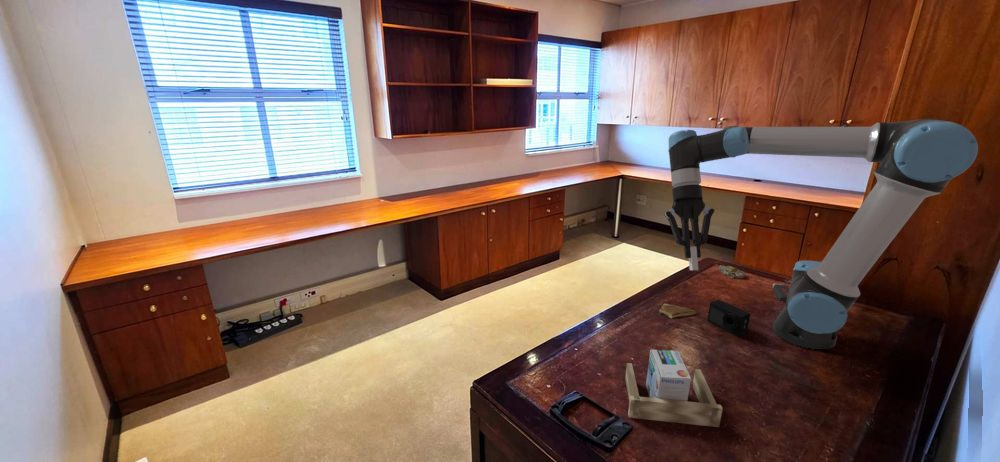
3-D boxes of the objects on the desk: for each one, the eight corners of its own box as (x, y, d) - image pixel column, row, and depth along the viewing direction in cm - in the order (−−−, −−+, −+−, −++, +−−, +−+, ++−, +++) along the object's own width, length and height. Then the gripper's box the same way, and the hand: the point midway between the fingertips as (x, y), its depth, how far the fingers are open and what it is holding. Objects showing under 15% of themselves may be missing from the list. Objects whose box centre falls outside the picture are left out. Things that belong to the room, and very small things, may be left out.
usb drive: (778, 303, 140) (780, 295, 139) (769, 288, 151) (770, 281, 150) (796, 305, 139) (798, 298, 138) (785, 290, 149) (787, 283, 149)
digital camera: (703, 322, 129) (707, 302, 126) (714, 318, 131) (718, 298, 129) (735, 338, 120) (739, 317, 118) (746, 333, 122) (750, 313, 120)
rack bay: (700, 386, 100) (703, 369, 99) (719, 427, 88) (722, 408, 87) (622, 379, 104) (623, 362, 102) (628, 417, 91) (630, 399, 90)
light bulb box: (645, 384, 101) (649, 348, 98) (672, 386, 101) (678, 349, 97) (655, 416, 91) (660, 377, 88) (686, 419, 91) (692, 379, 87)
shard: (697, 315, 134) (698, 310, 133) (693, 325, 128) (694, 320, 127) (663, 306, 140) (664, 301, 139) (658, 316, 134) (658, 311, 133)
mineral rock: (752, 271, 159) (739, 270, 156) (748, 282, 160) (736, 280, 156) (727, 263, 169) (715, 261, 165) (724, 273, 169) (711, 271, 166)
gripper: (706, 186, 116) (714, 269, 114) (659, 190, 118) (666, 271, 116) (716, 181, 109) (724, 269, 107) (665, 185, 111) (672, 271, 109)
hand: (694, 270), depth 111 cm, fingers closed
